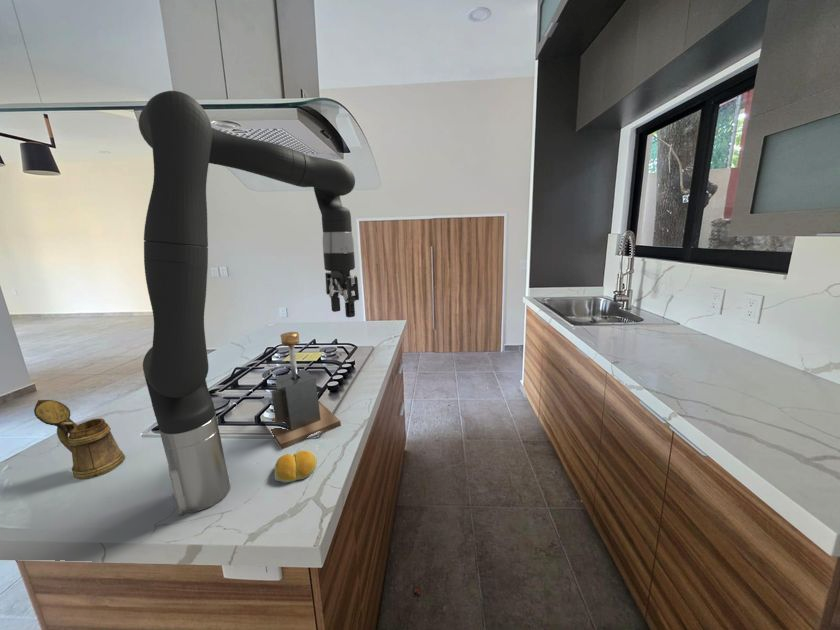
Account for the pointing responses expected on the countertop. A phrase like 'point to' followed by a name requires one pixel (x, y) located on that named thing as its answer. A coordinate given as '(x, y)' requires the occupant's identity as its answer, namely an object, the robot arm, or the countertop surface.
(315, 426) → the serving board
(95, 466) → the wooden mug
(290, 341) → the plunger
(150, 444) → the countertop surface
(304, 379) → the block
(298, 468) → the bread roll
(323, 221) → the robot arm
